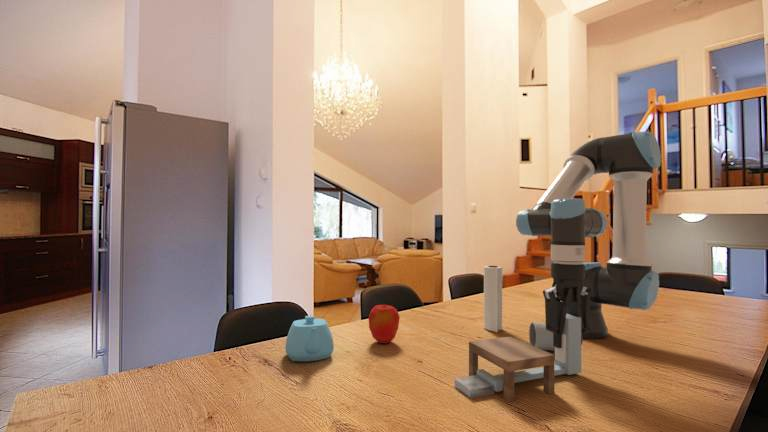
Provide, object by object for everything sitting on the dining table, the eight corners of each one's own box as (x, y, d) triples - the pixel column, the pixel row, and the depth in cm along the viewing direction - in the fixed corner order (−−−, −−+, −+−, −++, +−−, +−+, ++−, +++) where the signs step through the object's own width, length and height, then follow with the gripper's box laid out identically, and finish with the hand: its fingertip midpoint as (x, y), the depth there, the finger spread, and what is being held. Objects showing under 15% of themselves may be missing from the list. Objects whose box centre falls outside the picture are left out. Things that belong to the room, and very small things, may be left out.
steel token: (477, 383, 85) (477, 374, 85) (494, 395, 80) (494, 385, 80) (454, 387, 83) (454, 378, 83) (470, 399, 77) (470, 390, 77)
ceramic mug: (566, 354, 104) (566, 326, 104) (535, 353, 105) (535, 325, 105) (553, 343, 114) (553, 317, 115) (525, 342, 115) (525, 316, 116)
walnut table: (510, 369, 93) (510, 336, 93) (554, 392, 80) (554, 355, 80) (468, 375, 89) (469, 341, 89) (508, 402, 76) (508, 362, 76)
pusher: (562, 364, 95) (562, 312, 95) (586, 375, 88) (586, 319, 88) (476, 378, 85) (476, 321, 86) (496, 391, 79) (496, 329, 79)
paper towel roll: (487, 325, 133) (487, 264, 134) (504, 328, 130) (504, 266, 130) (479, 330, 127) (479, 266, 128) (497, 333, 124) (497, 268, 124)
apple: (363, 344, 111) (363, 303, 111) (375, 336, 119) (375, 298, 120) (393, 349, 107) (393, 306, 108) (403, 340, 116) (403, 300, 116)
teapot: (288, 328, 90) (284, 311, 107) (288, 373, 90) (283, 349, 107) (340, 323, 94) (328, 308, 111) (340, 367, 94) (327, 344, 111)
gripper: (552, 265, 85) (552, 370, 84) (607, 262, 91) (607, 360, 90) (528, 261, 92) (528, 358, 91) (580, 260, 98) (581, 350, 97)
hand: (567, 359), depth 91 cm, fingers closed on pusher, 4 cm apart
